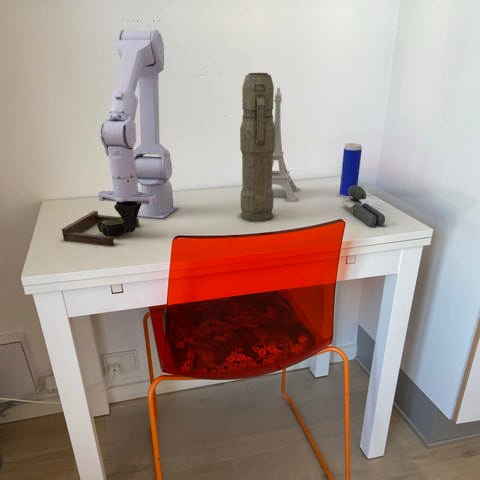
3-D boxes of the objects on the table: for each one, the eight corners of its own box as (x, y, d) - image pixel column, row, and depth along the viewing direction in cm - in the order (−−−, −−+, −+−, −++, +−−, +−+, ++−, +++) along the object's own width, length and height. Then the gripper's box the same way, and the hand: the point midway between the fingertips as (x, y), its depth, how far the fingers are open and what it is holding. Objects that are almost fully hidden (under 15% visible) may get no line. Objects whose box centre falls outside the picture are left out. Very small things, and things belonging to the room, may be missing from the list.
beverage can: (343, 192, 148) (348, 142, 140) (358, 195, 145) (365, 144, 138) (336, 196, 145) (341, 145, 137) (351, 199, 142) (357, 147, 134)
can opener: (338, 205, 137) (340, 183, 133) (354, 204, 138) (357, 182, 134) (368, 228, 121) (371, 204, 118) (386, 226, 122) (390, 202, 119)
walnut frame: (95, 221, 127) (93, 210, 126) (139, 225, 124) (138, 214, 122) (63, 240, 116) (61, 229, 114) (111, 246, 112) (109, 234, 111)
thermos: (246, 225, 124) (246, 75, 105) (236, 211, 133) (234, 72, 115) (278, 222, 125) (283, 74, 107) (266, 208, 135) (269, 71, 117)
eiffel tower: (256, 187, 154) (257, 85, 138) (297, 188, 152) (303, 85, 136) (251, 199, 143) (252, 90, 127) (295, 201, 141) (301, 90, 125)
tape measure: (124, 228, 123) (122, 214, 121) (133, 236, 118) (131, 221, 116) (98, 233, 120) (95, 219, 118) (106, 241, 115) (104, 227, 113)
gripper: (87, 177, 108) (97, 233, 116) (144, 182, 105) (151, 239, 112) (103, 170, 114) (112, 224, 121) (158, 174, 111) (163, 229, 118)
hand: (131, 230), depth 117 cm, fingers closed
